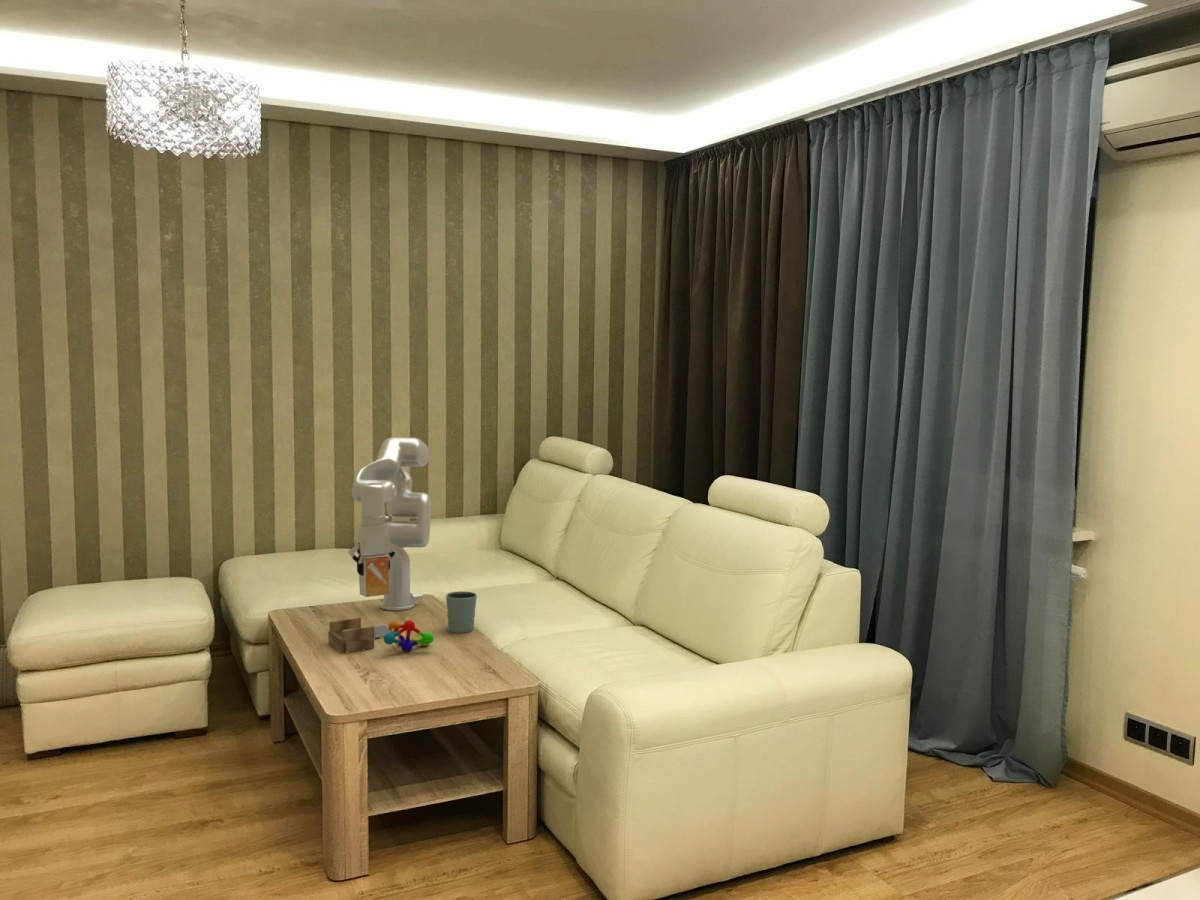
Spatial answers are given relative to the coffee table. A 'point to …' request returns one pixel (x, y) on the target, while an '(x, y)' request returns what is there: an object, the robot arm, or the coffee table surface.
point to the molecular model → (406, 635)
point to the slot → (350, 635)
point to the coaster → (381, 631)
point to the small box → (374, 576)
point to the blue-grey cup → (461, 611)
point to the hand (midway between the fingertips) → (373, 573)
